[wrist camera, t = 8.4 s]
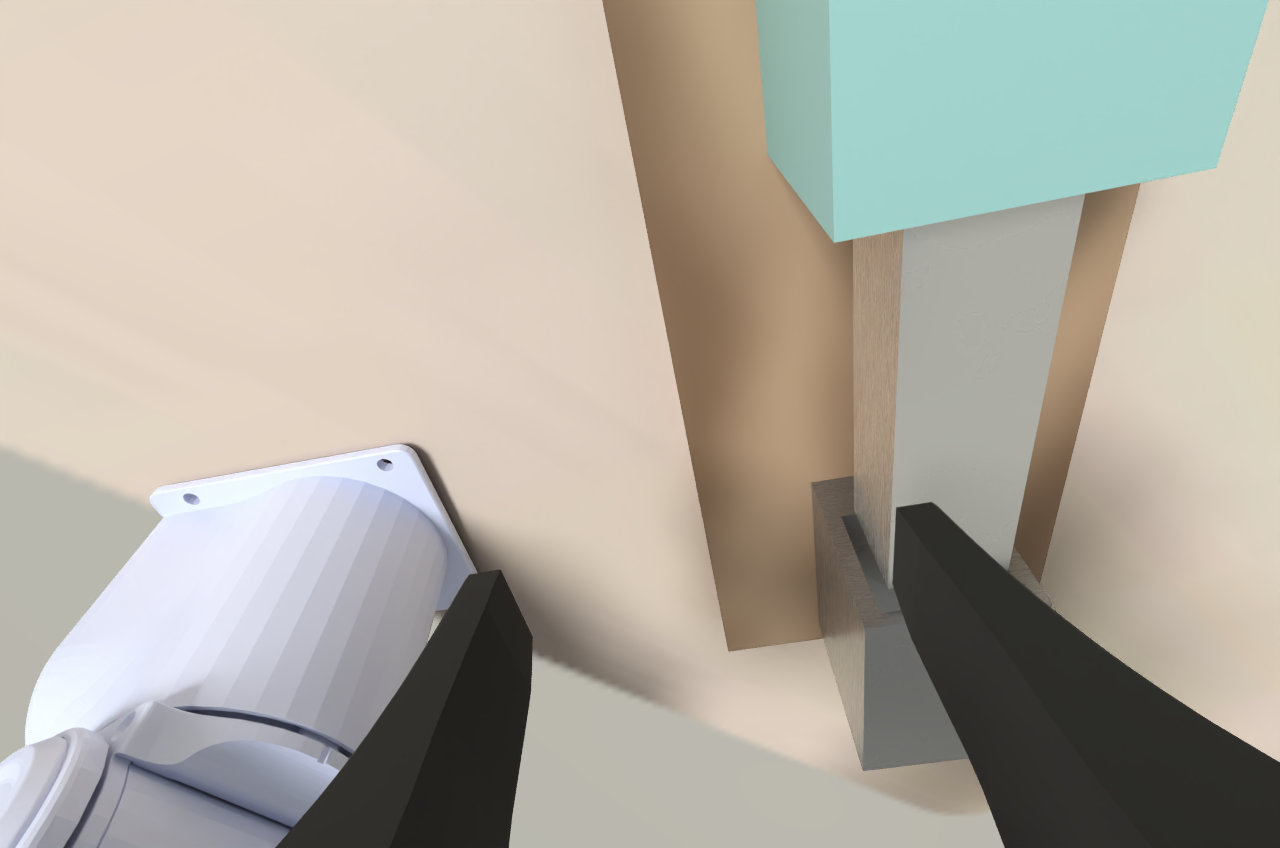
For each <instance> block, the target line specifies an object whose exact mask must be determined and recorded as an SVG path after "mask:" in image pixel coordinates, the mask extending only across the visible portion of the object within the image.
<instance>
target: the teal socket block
mask: <svg viewBox="0 0 1280 848" xmlns="http://www.w3.org/2000/svg"><path fill="white" fill-rule="evenodd" d="M755 1H756V14H757V27H758V40H759V53H760V66H761V79H762V92H763V105H764V118H765V131H766V144H767V155H768V156H769V157H770V159H771V160H772V161H773V163H774V164H775V165H776V167H777V168H778V169H779V171H780V172H781V173H782V175H783V176H784V177H785V179H786V180H787V181H788V183H789V184H790V185H791V187H792V188H793V189H794V191H795V192H796V193H797V195H798V196H799V197H800V198H801V200H802V201H803V202H804V204H805V205H806V206H807V208H808V209H809V210H810V212H811V213H812V214H813V216H814V217H815V218H816V220H817V221H818V222H819V224H820V225H821V226H822V228H823V229H824V230H825V232H826V233H827V234H828V236H829V237H830V238H831V240H832V241H833V242H834V243H836V242H841V241H846V240H851V239H856V238H861V237H866V236H872V235H877V234H882V233H887V232H892V231H897V230H902V229H907V228H912V227H917V226H923V225H928V224H933V223H938V222H943V221H948V220H953V219H958V218H963V217H968V216H974V215H979V214H984V213H989V212H994V211H999V210H1004V209H1009V208H1014V207H1020V206H1025V205H1030V204H1035V203H1040V202H1045V201H1050V200H1055V199H1060V198H1065V197H1071V196H1076V195H1081V194H1086V193H1091V192H1096V191H1101V190H1106V189H1111V188H1116V187H1122V186H1127V185H1132V184H1137V183H1142V182H1147V181H1152V180H1157V179H1162V178H1167V177H1173V176H1178V175H1183V174H1188V173H1193V172H1198V171H1203V170H1208V169H1213V168H1216V166H1217V163H1218V160H1219V157H1220V154H1221V150H1222V147H1223V144H1224V141H1225V138H1226V135H1227V131H1228V128H1229V125H1230V122H1231V119H1232V116H1233V112H1234V109H1235V106H1236V103H1237V100H1238V96H1239V93H1240V90H1241V87H1242V84H1243V81H1244V77H1245V74H1246V71H1247V68H1248V65H1249V61H1250V58H1251V55H1252V52H1253V49H1254V46H1255V42H1256V39H1257V36H1258V33H1259V30H1260V26H1261V23H1262V20H1263V17H1264V14H1265V11H1266V7H1267V4H1268V1H1269V0H755Z"/></svg>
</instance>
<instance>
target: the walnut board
mask: <svg viewBox="0 0 1280 848" xmlns="http://www.w3.org/2000/svg"><path fill="white" fill-rule="evenodd" d="M602 1H603V6H604V11H605V16H606V22H607V27H608V32H609V37H610V42H611V47H612V53H613V58H614V63H615V68H616V73H617V78H618V84H619V89H620V94H621V99H622V104H623V109H624V115H625V120H626V125H627V130H628V135H629V140H630V146H631V151H632V156H633V161H634V166H635V171H636V177H637V182H638V187H639V192H640V197H641V202H642V207H643V213H644V218H645V223H646V228H647V233H648V238H649V244H650V249H651V254H652V259H653V264H654V269H655V275H656V280H657V285H658V290H659V295H660V300H661V306H662V311H663V316H664V321H665V326H666V331H667V337H668V342H669V347H670V352H671V357H672V362H673V368H674V373H675V378H676V383H677V388H678V393H679V398H680V404H681V409H682V414H683V419H684V424H685V429H686V435H687V440H688V445H689V450H690V455H691V460H692V466H693V471H694V476H695V481H696V486H697V491H698V497H699V502H700V507H701V512H702V517H703V522H704V528H705V533H706V538H707V543H708V548H709V553H710V559H711V564H712V569H713V574H714V579H715V584H716V589H717V595H718V600H719V605H720V610H721V615H722V620H723V626H724V631H725V636H726V641H727V646H728V651H736V650H743V649H750V648H757V647H764V646H771V645H779V644H786V643H793V642H800V641H807V640H814V639H821V638H823V636H822V632H821V629H820V626H819V617H818V598H817V580H816V562H815V543H814V525H813V507H812V488H811V482H817V481H823V480H830V479H836V478H842V477H848V476H854V397H853V239H851V240H846V241H841V242H836V243H834V242H833V241H832V240H831V238H830V237H829V236H828V234H827V233H826V232H825V230H824V229H823V228H822V226H821V225H820V224H819V222H818V221H817V220H816V218H815V217H814V216H813V214H812V213H811V212H810V210H809V209H808V208H807V206H806V205H805V204H804V202H803V201H802V200H801V198H800V197H799V196H798V195H797V193H796V192H795V191H794V189H793V188H792V187H791V185H790V184H789V183H788V181H787V180H786V179H785V177H784V176H783V175H782V173H781V172H780V171H779V169H778V168H777V167H776V165H775V164H774V163H773V161H772V160H771V159H770V157H769V156H768V155H767V144H766V131H765V118H764V105H763V92H762V79H761V66H760V53H759V40H758V27H757V14H756V1H755V0H602ZM1139 186H1140V183H1137V184H1132V185H1127V186H1122V187H1116V188H1111V189H1106V190H1101V191H1096V192H1091V193H1086V194H1085V198H1084V203H1083V208H1082V213H1081V217H1080V222H1079V227H1078V232H1077V237H1076V242H1075V247H1074V252H1073V257H1072V261H1071V266H1070V271H1069V276H1068V281H1067V286H1066V291H1065V296H1064V300H1063V305H1062V310H1061V315H1060V320H1059V325H1058V330H1057V335H1056V340H1055V344H1054V349H1053V354H1052V359H1051V364H1050V369H1049V374H1048V379H1047V384H1046V388H1045V393H1044V398H1043V403H1042V408H1041V413H1040V418H1039V423H1038V427H1037V432H1036V437H1035V442H1034V447H1033V452H1032V457H1031V462H1030V467H1029V471H1028V476H1027V481H1026V486H1025V491H1024V496H1023V501H1022V506H1021V511H1020V515H1019V520H1018V525H1017V530H1016V535H1015V540H1014V545H1013V546H1014V547H1015V549H1016V550H1017V552H1018V553H1019V554H1020V556H1021V557H1022V559H1023V560H1024V562H1025V563H1026V565H1027V566H1028V568H1029V569H1030V571H1031V572H1032V574H1033V575H1034V577H1035V578H1036V580H1037V581H1038V583H1039V584H1040V580H1041V576H1042V572H1043V568H1044V564H1045V560H1046V556H1047V552H1048V548H1049V544H1050V540H1051V536H1052V532H1053V528H1054V524H1055V520H1056V516H1057V512H1058V508H1059V504H1060V500H1061V496H1062V492H1063V488H1064V484H1065V480H1066V476H1067V472H1068V468H1069V464H1070V461H1071V457H1072V453H1073V449H1074V445H1075V441H1076V437H1077V433H1078V429H1079V425H1080V421H1081V417H1082V413H1083V409H1084V405H1085V401H1086V397H1087V393H1088V389H1089V385H1090V381H1091V377H1092V373H1093V369H1094V365H1095V361H1096V357H1097V353H1098V349H1099V345H1100V341H1101V337H1102V333H1103V329H1104V325H1105V321H1106V317H1107V313H1108V309H1109V305H1110V301H1111V297H1112V293H1113V289H1114V286H1115V282H1116V278H1117V274H1118V270H1119V266H1120V262H1121V258H1122V254H1123V250H1124V246H1125V242H1126V238H1127V234H1128V230H1129V226H1130V222H1131V218H1132V214H1133V210H1134V206H1135V202H1136V198H1137V194H1138V190H1139Z"/></svg>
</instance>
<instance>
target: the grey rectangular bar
mask: <svg viewBox="0 0 1280 848" xmlns="http://www.w3.org/2000/svg"><path fill="white" fill-rule="evenodd" d="M1084 198H1085V194H1081V195H1076V196H1071V197H1065V198H1060V199H1055V200H1050V201H1045V202H1040V203H1035V204H1030V205H1025V206H1020V207H1014V208H1009V209H1004V210H999V211H994V212H989V213H984V214H979V215H974V216H968V217H963V218H958V219H953V220H948V221H943V222H938V223H933V224H928V225H923V226H917V227H912V228H907V229H902V230H897V231H892V232H887V233H882V234H877V235H872V236H866V237H861V238H856V239H853V397H854V511H855V513H856V515H857V518H858V520H859V522H860V525H861V527H862V529H863V532H864V534H865V536H866V539H867V541H868V543H869V546H870V548H871V550H872V553H873V555H874V557H875V560H876V562H877V564H878V567H879V569H880V572H881V574H882V576H883V579H884V581H885V583H886V586H887V588H888V589H893V585H892V580H893V560H894V539H895V519H896V507H902V506H909V505H915V504H921V503H928V502H933V503H934V504H936V505H937V506H938V507H939V508H940V509H941V510H942V511H943V512H945V513H946V514H947V515H948V516H949V517H950V518H951V519H952V520H953V521H954V522H955V523H956V524H957V525H958V526H959V527H960V528H961V529H962V530H963V531H964V532H965V533H966V534H968V535H969V536H970V537H971V538H972V539H973V540H974V541H975V542H976V543H977V544H978V545H979V546H980V547H982V548H983V549H984V550H985V551H986V552H987V553H988V554H989V555H990V556H991V557H992V558H994V559H995V560H996V561H997V562H998V563H999V564H1000V565H1001V566H1003V567H1004V568H1005V569H1006V570H1007V571H1008V569H1009V564H1010V559H1011V554H1012V550H1013V545H1014V540H1015V535H1016V530H1017V525H1018V520H1019V515H1020V511H1021V506H1022V501H1023V496H1024V491H1025V486H1026V481H1027V476H1028V471H1029V467H1030V462H1031V457H1032V452H1033V447H1034V442H1035V437H1036V432H1037V427H1038V423H1039V418H1040V413H1041V408H1042V403H1043V398H1044V393H1045V388H1046V384H1047V379H1048V374H1049V369H1050V364H1051V359H1052V354H1053V349H1054V344H1055V340H1056V335H1057V330H1058V325H1059V320H1060V315H1061V310H1062V305H1063V300H1064V296H1065V291H1066V286H1067V281H1068V276H1069V271H1070V266H1071V261H1072V257H1073V252H1074V247H1075V242H1076V237H1077V232H1078V227H1079V222H1080V217H1081V213H1082V208H1083V203H1084Z"/></svg>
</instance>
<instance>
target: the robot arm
mask: <svg viewBox="0 0 1280 848" xmlns="http://www.w3.org/2000/svg"><path fill="white" fill-rule="evenodd" d="M382 459H387V460H389V461H391V462H392V464H388V463H386V462H384V461H383V460H382ZM193 494H194V495H196V496H194V495H193ZM150 502H151V504H152V505H153V507H154V508H155V509H156V510H157V511H158V512H159V514H160V515H161V516H162V517H163V519H162V520H161V522H160V523H159V524H158V525H157V526H156V527H155V529H154V530H153V531H152V532H151V534H150V535H149V536H148V537H147V538H146V540H145V541H144V542H143V543H142V545H141V546H140V547H139V548H138V550H137V551H136V552H135V553H134V554H133V556H132V557H131V558H130V559H129V561H128V562H127V563H126V564H125V566H124V567H123V568H122V569H121V570H120V572H119V573H118V574H117V575H116V577H115V578H114V579H113V580H112V581H111V583H110V584H109V585H108V586H107V588H106V589H105V590H104V591H103V593H102V594H101V595H100V596H99V597H98V599H97V600H96V601H95V602H94V604H93V605H92V606H91V607H90V609H89V610H88V611H87V612H86V613H85V615H84V616H83V617H82V618H81V619H80V621H79V622H78V623H77V624H76V626H75V627H74V628H73V629H72V630H71V632H70V633H69V634H68V635H67V637H66V638H65V639H64V640H63V642H62V643H61V644H60V645H59V646H58V648H57V649H56V650H55V652H54V653H53V655H52V656H51V658H50V659H49V661H48V662H47V664H46V665H45V667H44V669H43V671H42V673H41V675H40V677H39V679H38V681H37V683H36V686H35V689H34V692H33V695H32V697H31V701H30V705H29V709H28V715H27V721H26V728H25V745H26V746H25V747H23V748H21V749H20V750H18V751H16V752H15V753H13V754H12V755H10V756H9V757H8V758H6V759H5V760H4V761H3V762H1V763H0V848H509V839H510V831H511V830H510V829H511V822H512V813H513V807H514V800H515V794H516V788H517V781H518V774H519V768H520V762H521V754H522V748H523V741H524V735H525V728H526V722H527V715H528V708H529V701H530V694H531V677H532V676H531V675H532V639H533V637H532V635H531V632H530V630H529V628H528V626H527V624H526V622H525V620H524V618H523V616H522V614H521V612H520V610H519V607H518V605H517V603H516V601H515V599H514V597H513V595H512V593H511V591H510V589H509V587H508V584H507V582H506V580H505V578H504V576H503V574H502V572H501V570H495V571H489V572H482V573H478V572H477V570H476V569H475V567H474V565H473V563H472V561H471V559H470V557H469V555H468V553H467V551H466V549H465V547H464V545H463V543H462V541H461V539H460V537H459V535H458V533H457V531H456V529H455V528H454V526H453V524H452V522H451V520H450V518H449V516H448V514H447V512H446V510H445V508H444V506H443V504H442V502H441V500H440V498H439V496H438V494H437V492H436V490H435V489H434V487H433V485H432V483H431V481H430V479H429V477H428V475H427V473H426V471H425V469H424V467H423V465H422V463H421V461H420V459H419V457H418V455H417V453H416V452H415V451H414V450H413V449H412V448H410V447H409V446H406V445H403V444H396V445H390V446H385V447H379V448H373V449H368V450H362V451H357V452H351V453H345V454H340V455H334V456H329V457H323V458H317V459H312V460H306V461H301V462H295V463H289V464H284V465H278V466H273V467H267V468H261V469H256V470H250V471H245V472H239V473H233V474H228V475H222V476H217V477H211V478H205V479H200V480H194V481H189V482H183V483H177V484H172V485H166V486H161V487H159V488H157V489H156V490H155V491H154V492H153V493H152V495H151V496H150ZM892 585H893V588H894V591H895V593H896V596H897V599H898V602H899V605H900V608H901V611H902V614H903V617H904V620H905V622H906V625H907V628H908V631H909V634H910V636H911V639H912V641H913V643H914V645H915V648H916V650H917V652H918V654H919V656H920V658H921V660H922V662H923V664H924V666H925V668H926V671H927V673H928V675H929V677H930V679H931V681H932V683H933V685H934V687H935V689H936V691H937V693H938V695H939V698H940V700H941V702H942V704H943V706H944V708H945V710H946V712H947V714H948V716H949V718H950V720H951V722H952V724H953V726H954V728H955V730H956V733H957V735H958V737H959V739H960V741H961V743H962V745H963V747H964V749H965V751H966V753H967V755H968V757H969V759H970V761H971V764H972V766H973V768H974V771H975V773H976V775H977V777H978V780H979V782H980V784H981V787H982V789H983V791H984V794H985V797H986V799H987V802H988V805H989V807H990V810H991V813H992V815H993V818H994V820H995V823H996V826H997V828H998V831H999V834H1000V836H1001V839H1002V842H1003V844H1004V847H1005V848H1280V762H1278V761H1276V760H1275V759H1273V758H1271V757H1270V756H1268V755H1266V754H1265V753H1263V752H1261V751H1260V750H1258V749H1256V748H1255V747H1253V746H1251V745H1249V744H1248V743H1246V742H1244V741H1243V740H1241V739H1239V738H1238V737H1236V736H1234V735H1233V734H1231V733H1229V732H1228V731H1226V730H1224V729H1223V728H1221V727H1219V726H1218V725H1216V724H1214V723H1213V722H1211V721H1209V720H1208V719H1206V718H1205V717H1203V716H1201V715H1200V714H1198V713H1197V712H1195V711H1194V710H1192V709H1191V708H1189V707H1188V706H1186V705H1185V704H1183V703H1182V702H1180V701H1178V700H1177V699H1175V698H1174V697H1172V696H1171V695H1169V694H1168V693H1166V692H1165V691H1163V690H1162V689H1160V688H1159V687H1157V686H1156V685H1154V684H1153V683H1151V682H1150V681H1149V680H1147V679H1146V678H1144V677H1143V676H1141V675H1140V674H1138V673H1137V672H1135V671H1134V670H1133V669H1131V668H1130V667H1128V666H1127V665H1125V664H1124V663H1123V662H1121V661H1120V660H1119V659H1117V658H1116V657H1114V656H1113V655H1112V654H1110V653H1109V652H1108V651H1106V650H1105V649H1104V648H1102V647H1101V646H1099V645H1098V644H1097V643H1095V642H1094V641H1093V640H1091V639H1090V638H1089V637H1088V636H1086V635H1085V634H1084V633H1082V632H1081V631H1080V630H1079V629H1077V628H1076V627H1075V626H1073V625H1072V624H1071V623H1070V622H1068V621H1067V620H1066V619H1064V618H1063V617H1062V616H1061V615H1059V614H1058V613H1057V612H1056V611H1054V610H1053V609H1052V608H1051V607H1050V606H1048V605H1047V604H1046V603H1045V602H1043V601H1042V600H1041V599H1040V598H1039V597H1038V596H1036V595H1035V594H1034V593H1033V592H1032V591H1030V590H1029V589H1028V588H1027V587H1026V586H1025V585H1023V584H1022V583H1021V582H1020V581H1019V580H1018V579H1016V578H1015V577H1014V576H1013V575H1012V574H1010V573H1009V572H1008V571H1007V570H1006V569H1005V568H1004V567H1003V566H1001V565H1000V564H999V563H998V562H997V561H996V560H995V559H994V558H992V557H991V556H990V555H989V554H988V553H987V552H986V551H985V550H984V549H983V548H982V547H980V546H979V545H978V544H977V543H976V542H975V541H974V540H973V539H972V538H971V537H970V536H969V535H968V534H966V533H965V532H964V531H963V530H962V529H961V528H960V527H959V526H958V525H957V524H956V523H955V522H954V521H953V520H952V519H951V518H950V517H949V516H948V515H947V514H946V513H945V512H943V511H942V510H941V509H940V508H939V507H938V506H937V505H936V504H934V503H933V502H928V503H921V504H915V505H909V506H902V507H896V519H895V539H894V560H893V580H892ZM446 609H448V610H447V611H446V613H445V615H444V616H443V618H442V620H441V622H440V623H439V625H438V627H437V628H436V630H435V631H434V633H433V635H432V636H431V638H430V640H429V641H428V643H427V640H428V637H429V633H430V629H431V626H432V622H433V619H434V615H435V612H436V611H440V610H446ZM426 644H427V645H426Z"/></svg>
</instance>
